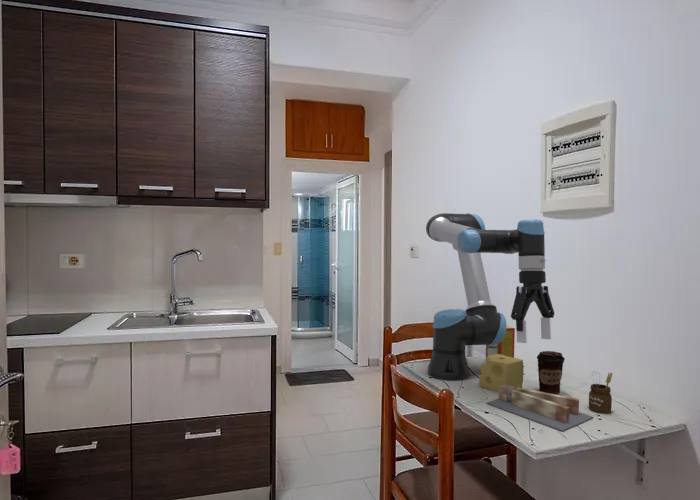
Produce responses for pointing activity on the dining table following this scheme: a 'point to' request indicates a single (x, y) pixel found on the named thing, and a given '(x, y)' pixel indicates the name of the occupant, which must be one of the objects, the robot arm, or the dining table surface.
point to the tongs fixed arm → (534, 403)
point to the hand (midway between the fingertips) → (534, 340)
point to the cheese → (501, 372)
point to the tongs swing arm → (555, 399)
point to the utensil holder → (600, 396)
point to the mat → (541, 416)
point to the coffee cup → (550, 371)
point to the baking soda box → (503, 344)
